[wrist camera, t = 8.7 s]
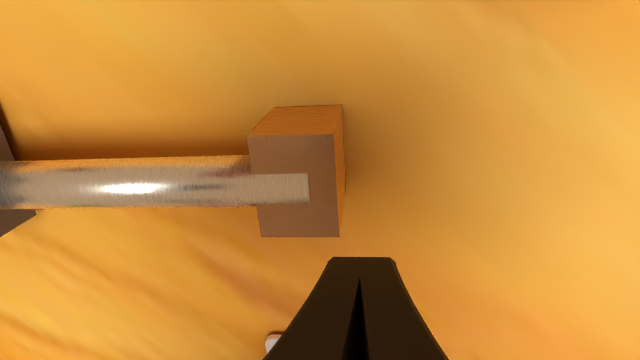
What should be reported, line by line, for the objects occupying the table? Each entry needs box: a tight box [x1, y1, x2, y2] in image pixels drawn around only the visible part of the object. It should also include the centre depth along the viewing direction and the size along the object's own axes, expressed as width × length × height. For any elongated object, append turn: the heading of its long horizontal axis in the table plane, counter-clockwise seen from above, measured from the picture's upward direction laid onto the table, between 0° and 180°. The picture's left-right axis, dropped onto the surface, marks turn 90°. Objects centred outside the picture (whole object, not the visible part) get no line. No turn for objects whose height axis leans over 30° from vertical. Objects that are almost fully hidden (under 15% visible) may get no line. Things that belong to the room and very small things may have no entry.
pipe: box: [0, 105, 346, 237], centre depth 17 cm, size 22×4×5 cm, turn 94°
